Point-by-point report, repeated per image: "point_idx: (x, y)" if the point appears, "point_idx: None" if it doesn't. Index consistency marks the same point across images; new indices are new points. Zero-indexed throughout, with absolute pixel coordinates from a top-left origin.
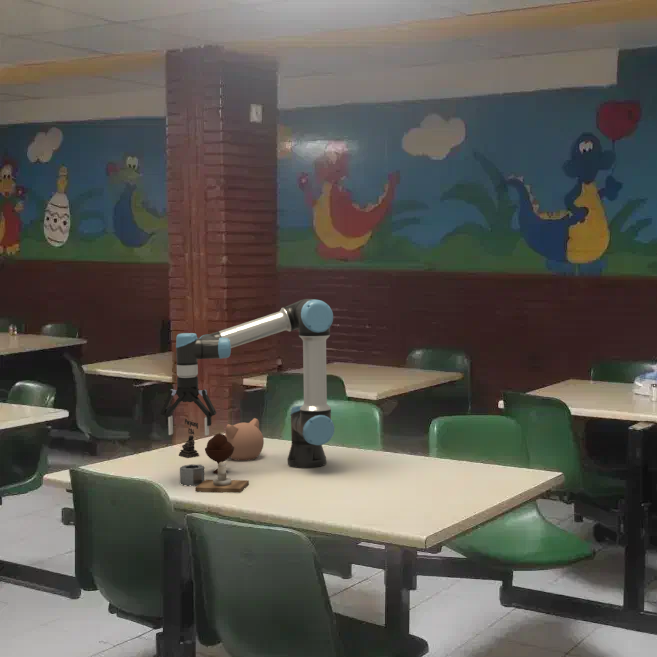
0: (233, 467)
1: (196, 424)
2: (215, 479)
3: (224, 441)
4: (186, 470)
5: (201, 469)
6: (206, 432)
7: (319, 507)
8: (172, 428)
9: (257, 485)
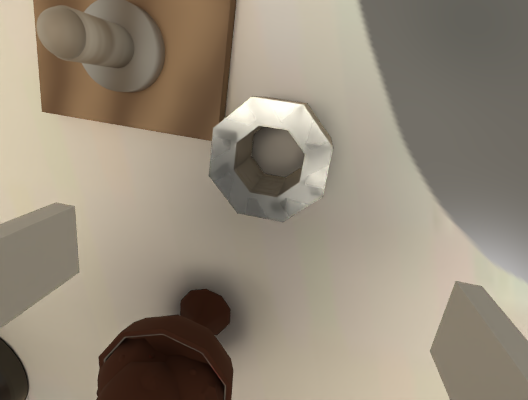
0: None
1: None
2: (147, 54)
3: (105, 386)
4: (289, 102)
5: (215, 130)
6: (33, 212)
7: None
8: (457, 388)
9: (22, 96)
